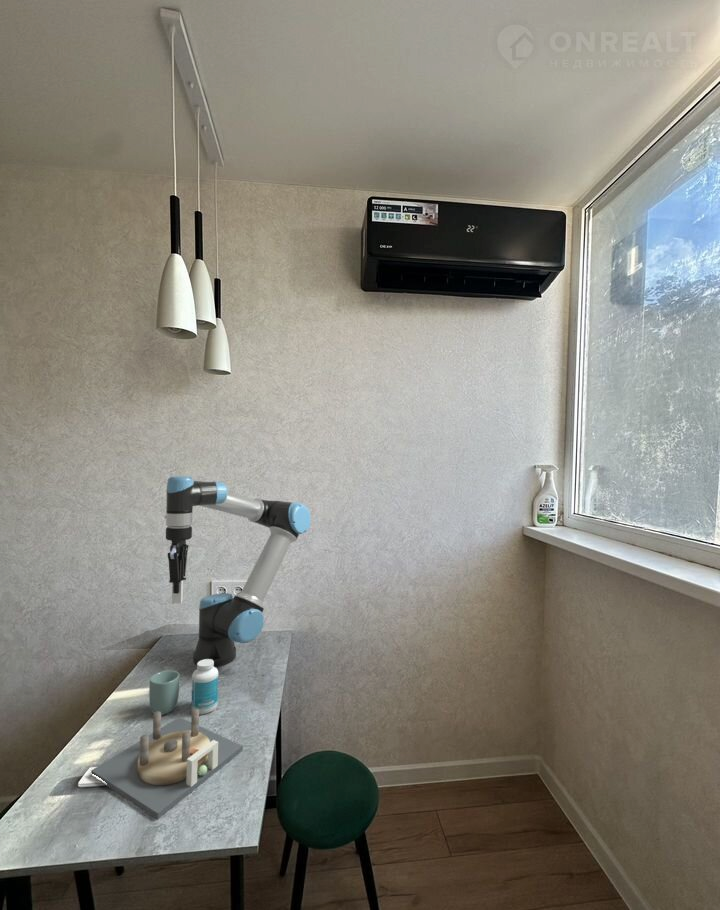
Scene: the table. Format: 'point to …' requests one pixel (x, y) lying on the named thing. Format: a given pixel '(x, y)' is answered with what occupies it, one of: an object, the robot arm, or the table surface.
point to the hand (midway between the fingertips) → (177, 602)
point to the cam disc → (170, 752)
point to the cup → (164, 691)
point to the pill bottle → (205, 687)
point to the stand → (164, 797)
